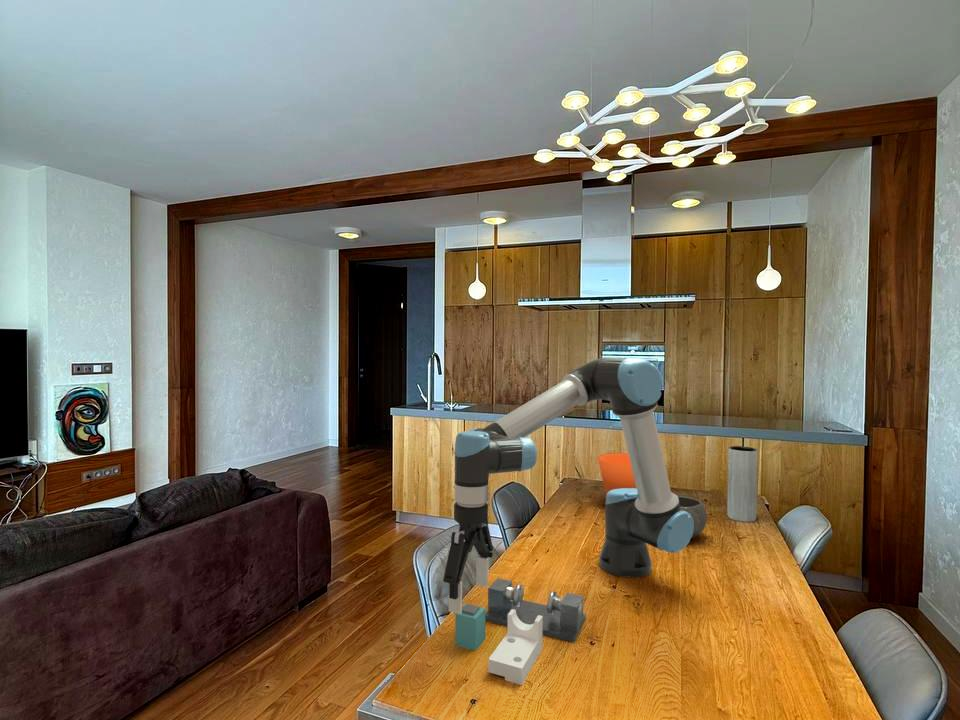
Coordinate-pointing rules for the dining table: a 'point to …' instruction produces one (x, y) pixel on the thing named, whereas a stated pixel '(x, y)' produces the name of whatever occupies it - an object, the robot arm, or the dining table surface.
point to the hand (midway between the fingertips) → (469, 598)
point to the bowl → (694, 513)
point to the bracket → (517, 649)
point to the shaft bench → (537, 610)
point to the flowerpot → (616, 471)
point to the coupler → (470, 627)
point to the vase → (742, 483)
